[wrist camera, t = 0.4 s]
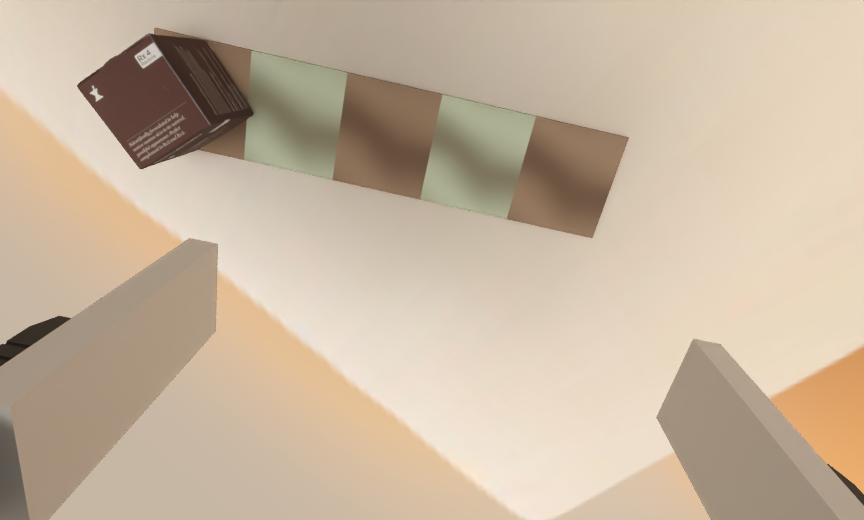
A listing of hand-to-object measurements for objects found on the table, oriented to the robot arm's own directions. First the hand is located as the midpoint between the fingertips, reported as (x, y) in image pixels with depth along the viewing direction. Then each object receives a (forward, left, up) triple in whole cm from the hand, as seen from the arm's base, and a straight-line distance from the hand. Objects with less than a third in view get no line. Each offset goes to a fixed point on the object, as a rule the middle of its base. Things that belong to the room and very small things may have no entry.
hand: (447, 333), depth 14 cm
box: (0, -20, -26) cm, 33 cm away
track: (0, -6, -26) cm, 27 cm away
